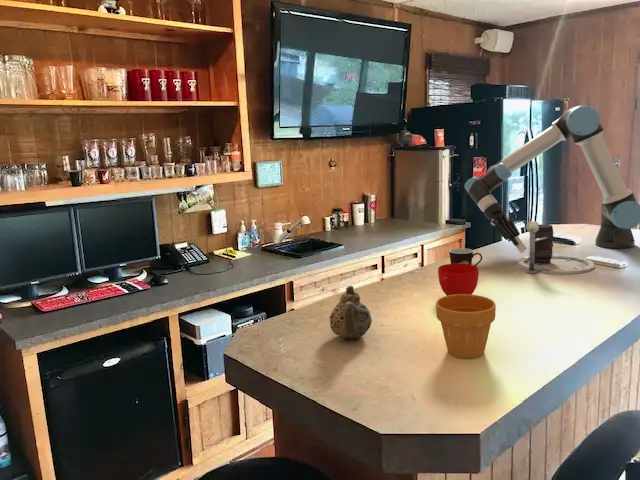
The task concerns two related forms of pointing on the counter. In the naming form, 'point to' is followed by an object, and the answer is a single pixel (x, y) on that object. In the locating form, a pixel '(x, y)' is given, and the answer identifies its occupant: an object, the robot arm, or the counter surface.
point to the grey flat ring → (576, 270)
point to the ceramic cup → (458, 278)
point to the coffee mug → (462, 256)
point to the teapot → (350, 316)
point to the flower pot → (465, 323)
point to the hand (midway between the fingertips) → (523, 250)
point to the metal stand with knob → (532, 245)
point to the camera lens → (543, 244)
